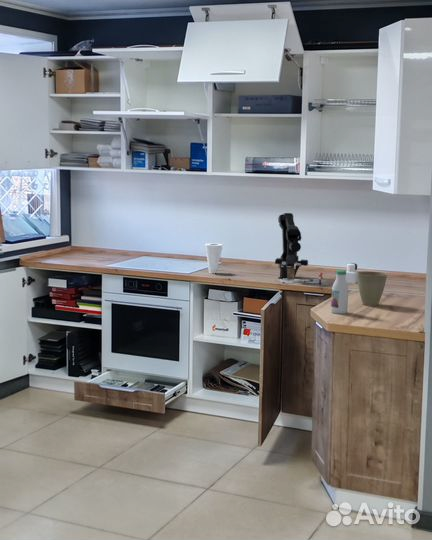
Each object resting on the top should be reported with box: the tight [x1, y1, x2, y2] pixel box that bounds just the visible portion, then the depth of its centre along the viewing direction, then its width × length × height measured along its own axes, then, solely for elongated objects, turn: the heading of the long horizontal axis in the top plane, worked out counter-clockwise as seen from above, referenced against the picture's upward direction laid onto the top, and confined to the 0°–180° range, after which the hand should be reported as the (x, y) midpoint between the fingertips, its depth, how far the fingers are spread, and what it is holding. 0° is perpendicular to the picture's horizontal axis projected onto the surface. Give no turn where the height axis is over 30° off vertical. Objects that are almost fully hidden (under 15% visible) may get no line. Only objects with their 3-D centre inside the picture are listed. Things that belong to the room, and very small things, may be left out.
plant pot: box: [357, 271, 388, 307], centre depth 390 cm, size 15×15×16 cm
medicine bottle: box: [345, 262, 359, 284], centre depth 456 cm, size 7×7×12 cm
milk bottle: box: [330, 269, 349, 315], centre depth 366 cm, size 8×8×20 cm
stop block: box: [287, 268, 296, 281], centre depth 452 cm, size 4×4×6 cm
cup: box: [204, 243, 223, 274], centre depth 478 cm, size 11×11×18 cm
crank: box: [303, 272, 323, 285], centre depth 450 cm, size 13×9×5 cm
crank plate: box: [295, 279, 333, 287], centre depth 448 cm, size 16×14×4 cm
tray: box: [279, 278, 303, 284], centre depth 452 cm, size 9×9×2 cm
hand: (290, 276), depth 452 cm, fingers closed on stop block, 4 cm apart
